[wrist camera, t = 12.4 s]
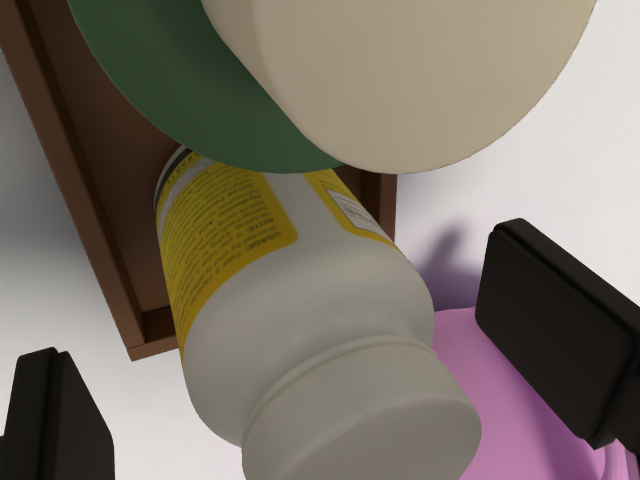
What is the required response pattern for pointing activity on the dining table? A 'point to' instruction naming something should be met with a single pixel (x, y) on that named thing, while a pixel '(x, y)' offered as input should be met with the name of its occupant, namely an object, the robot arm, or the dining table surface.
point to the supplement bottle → (305, 328)
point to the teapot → (514, 414)
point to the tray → (116, 166)
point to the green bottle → (333, 75)
